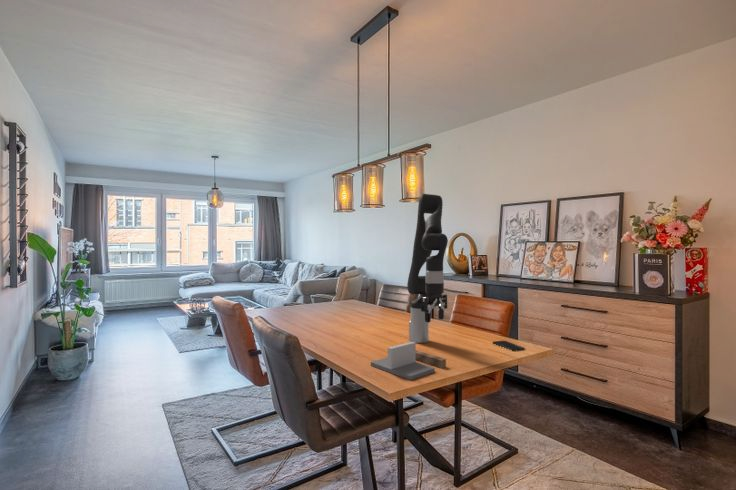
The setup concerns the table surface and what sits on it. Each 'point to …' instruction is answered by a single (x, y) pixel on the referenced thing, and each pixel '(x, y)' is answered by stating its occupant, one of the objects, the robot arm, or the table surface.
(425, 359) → the walnut bar
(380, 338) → the table surface
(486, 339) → the table surface
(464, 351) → the table surface
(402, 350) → the stand
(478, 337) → the table surface
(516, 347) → the phone
